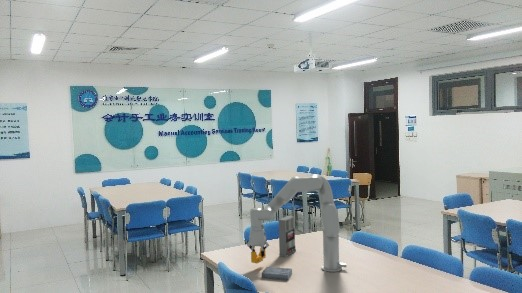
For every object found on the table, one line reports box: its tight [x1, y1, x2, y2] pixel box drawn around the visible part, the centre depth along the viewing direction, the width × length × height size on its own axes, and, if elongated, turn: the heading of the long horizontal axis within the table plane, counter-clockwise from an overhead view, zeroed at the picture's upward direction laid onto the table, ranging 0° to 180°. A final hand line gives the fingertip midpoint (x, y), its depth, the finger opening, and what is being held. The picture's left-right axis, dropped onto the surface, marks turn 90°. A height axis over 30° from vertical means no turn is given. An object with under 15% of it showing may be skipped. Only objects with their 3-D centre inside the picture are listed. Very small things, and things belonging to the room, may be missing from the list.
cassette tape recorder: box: [278, 215, 297, 257], centre depth 283 cm, size 14×6×25 cm, turn 148°
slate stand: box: [261, 266, 293, 281], centre depth 241 cm, size 16×11×3 cm
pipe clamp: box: [250, 247, 267, 264], centre depth 255 cm, size 12×4×6 cm, turn 145°
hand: (258, 256), depth 255 cm, fingers closed on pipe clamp, 4 cm apart
